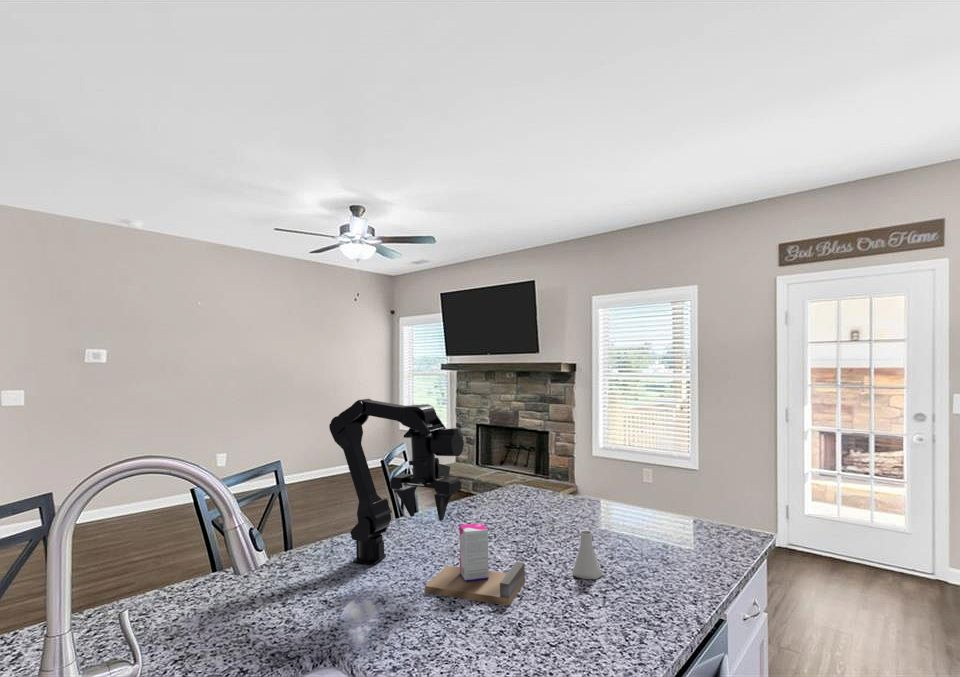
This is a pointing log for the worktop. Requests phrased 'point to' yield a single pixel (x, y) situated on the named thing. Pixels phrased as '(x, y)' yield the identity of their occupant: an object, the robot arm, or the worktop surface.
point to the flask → (586, 558)
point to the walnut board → (479, 585)
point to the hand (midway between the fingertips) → (426, 518)
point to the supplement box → (474, 552)
